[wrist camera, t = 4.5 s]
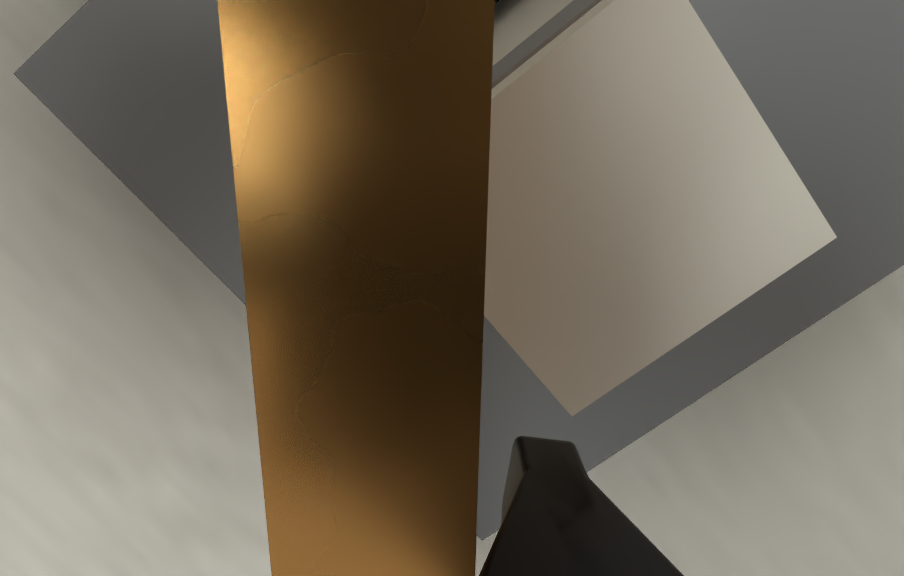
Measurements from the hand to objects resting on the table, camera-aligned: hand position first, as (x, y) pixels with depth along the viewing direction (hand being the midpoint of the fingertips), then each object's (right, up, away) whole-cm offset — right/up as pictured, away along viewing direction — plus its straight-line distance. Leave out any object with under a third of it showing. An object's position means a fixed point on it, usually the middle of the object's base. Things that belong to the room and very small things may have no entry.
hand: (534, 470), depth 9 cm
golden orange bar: (-2, -1, +1) cm, 2 cm away
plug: (+1, +6, +8) cm, 10 cm away
